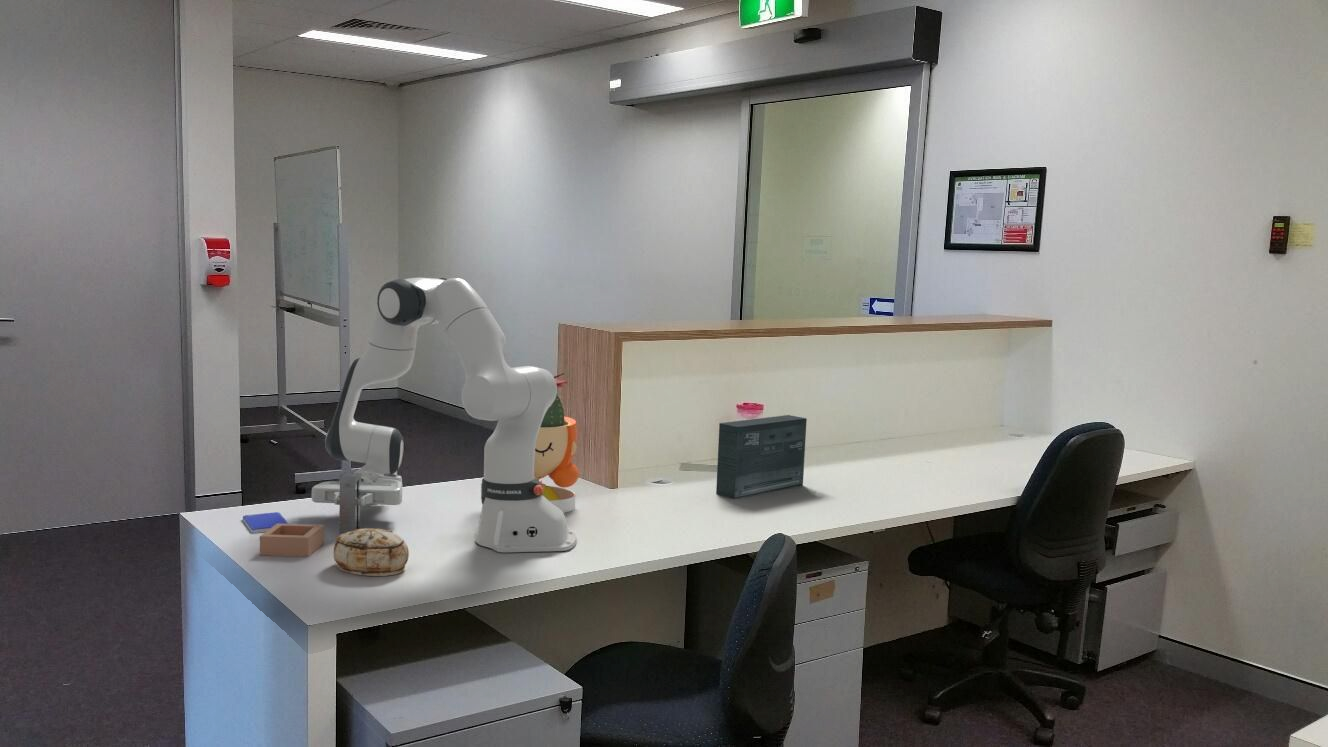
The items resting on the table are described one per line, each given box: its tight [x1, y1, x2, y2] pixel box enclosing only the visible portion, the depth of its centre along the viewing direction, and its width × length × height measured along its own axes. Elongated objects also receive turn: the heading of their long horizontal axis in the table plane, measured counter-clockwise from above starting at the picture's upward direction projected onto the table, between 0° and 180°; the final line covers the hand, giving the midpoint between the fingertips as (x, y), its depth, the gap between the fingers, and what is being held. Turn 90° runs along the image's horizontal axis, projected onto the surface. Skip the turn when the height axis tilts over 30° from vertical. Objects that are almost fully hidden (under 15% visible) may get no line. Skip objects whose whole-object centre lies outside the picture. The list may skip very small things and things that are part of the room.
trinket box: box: [332, 527, 410, 577], centre depth 200 cm, size 13×15×8 cm
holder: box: [259, 523, 325, 557], centre depth 211 cm, size 10×10×4 cm
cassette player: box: [715, 414, 808, 500], centre depth 282 cm, size 29×7×20 cm, turn 133°
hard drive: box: [242, 511, 289, 534], centre depth 229 cm, size 2×8×12 cm
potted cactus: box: [534, 372, 580, 514], centre depth 256 cm, size 22×22×35 cm
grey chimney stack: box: [338, 472, 361, 535], centre depth 224 cm, size 4×4×13 cm
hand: (348, 501), depth 223 cm, fingers closed on grey chimney stack, 3 cm apart
